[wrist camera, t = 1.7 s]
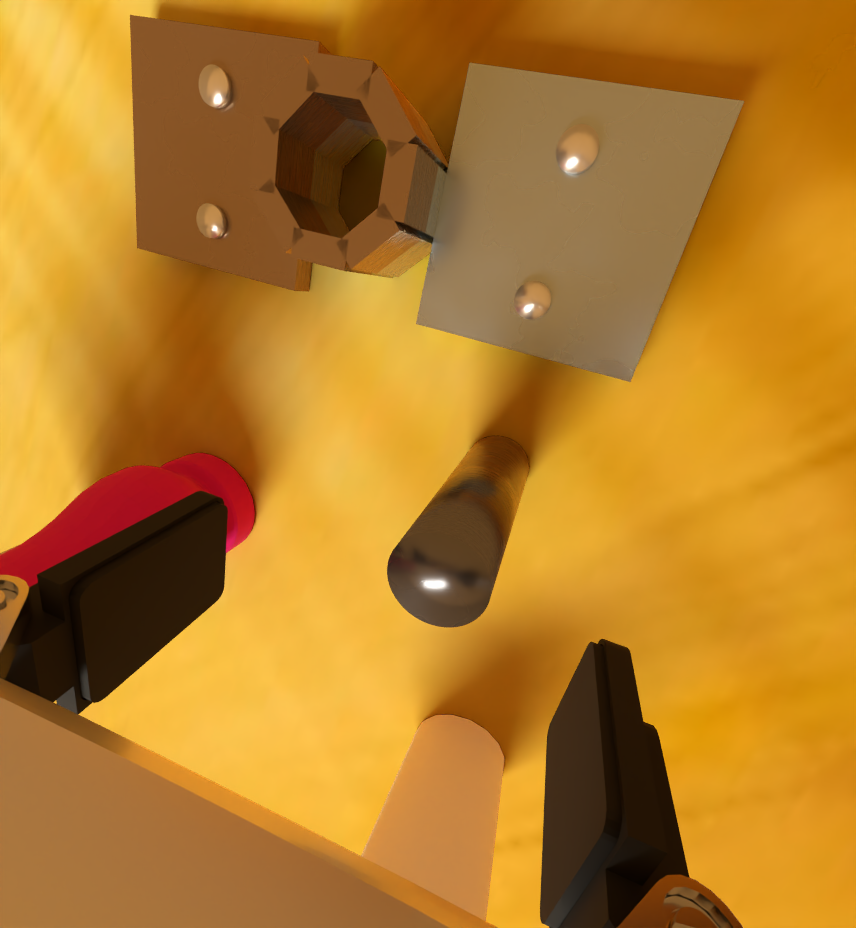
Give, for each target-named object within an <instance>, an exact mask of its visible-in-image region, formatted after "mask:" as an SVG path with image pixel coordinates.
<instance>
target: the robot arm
mask: <svg viewBox="0 0 856 928" xmlns="http://www.w3.org/2000/svg"><path fill="white" fill-rule="evenodd" d="M227 519H228V508H227V506H225V505H224V501H223V499H222V498H221V497H218V496H215V495H213V494H210V493H207V492H205V491H197V492H195V493H193V494H191V495H189V496H187V497H185V498H183V499H181V500H179V501H177V502H175V503H174V504H172V505H170V506H168V507H166V508H164V509H162V510H160V511H158V512H156V513H154V514H152V515H150V516H148V517H147V518H145V519H143V520H141V521H139V522H137V523H135V524H133V525H131V526H129V527H127V528H125V529H123V530H122V531H120V532H118V533H116V534H114V535H112V536H110V537H108V538H106V539H104V540H102V541H100V542H98V543H96V544H95V545H93V546H91V547H89V548H87V549H85V550H83V551H81V552H79V553H77V554H75V555H73V556H71V557H70V558H68V559H66V560H64V561H62V562H60V563H58V564H56V565H54V566H52V567H50V568H48V569H46V570H44V571H43V572H41V573H39V574H37V579H38V583H36V584H34V585H32V586H31V587H29V586H28V585H27V583H26V581H24V580H22V579H21V578H19V577H15V576H10V575H0V928H497V927H495V926H494V925H492V924H490V923H488V922H486V921H484V920H482V919H480V918H479V917H477V916H475V915H473V914H471V913H469V912H467V911H465V910H464V909H462V908H460V907H458V906H456V905H454V904H452V903H450V902H449V901H447V900H445V899H443V898H441V897H439V896H437V895H435V894H434V893H432V892H430V891H428V890H426V889H424V888H422V887H420V886H418V885H417V884H415V883H413V882H411V881H409V880H407V879H405V878H403V877H401V876H399V875H397V874H395V873H393V872H391V871H389V870H387V869H385V868H383V867H381V866H379V865H377V864H375V863H373V862H371V861H369V860H367V859H366V858H364V857H362V856H360V855H358V854H356V853H354V852H352V851H350V850H348V849H346V848H344V847H342V846H340V845H338V844H336V843H334V842H332V841H330V840H328V839H326V838H324V837H322V836H320V835H318V834H316V833H314V832H312V831H310V830H308V829H306V828H305V827H303V826H301V825H299V824H297V823H295V822H293V821H291V820H289V819H287V818H285V817H283V816H281V815H279V814H277V813H275V812H273V811H271V810H269V809H267V808H265V807H263V806H261V805H259V804H257V803H255V802H253V801H251V800H249V799H247V798H245V797H243V796H241V795H239V794H237V793H235V792H233V791H231V790H229V789H227V788H225V787H223V786H221V785H219V784H217V783H215V782H213V781H211V780H209V779H207V778H205V777H203V776H201V775H199V774H197V773H195V772H193V771H191V770H189V769H187V768H185V767H183V766H181V765H179V764H177V763H175V762H173V761H171V760H169V759H167V758H165V757H163V756H161V755H159V754H157V753H155V752H153V751H151V750H149V749H147V748H145V747H143V746H141V745H139V744H137V743H135V742H133V741H130V740H128V739H126V738H124V737H122V736H120V735H118V734H116V733H114V732H112V731H110V730H108V729H106V728H104V727H102V726H100V725H98V724H96V723H94V722H92V721H90V720H88V719H86V718H84V717H82V716H80V715H78V714H79V713H81V712H82V711H83V710H84V709H85V708H86V707H88V706H89V705H90V704H91V703H92V702H94V703H95V702H99V701H101V700H103V699H104V698H105V697H106V696H108V695H109V694H110V693H111V692H112V691H113V690H115V689H116V688H117V687H118V686H119V685H120V684H122V683H123V682H124V681H125V680H126V679H127V678H128V677H130V676H131V675H132V674H133V673H134V672H135V671H137V670H138V669H139V668H140V667H141V666H142V665H144V664H145V663H146V662H147V661H148V660H149V659H150V658H152V657H153V656H154V655H155V654H156V653H157V652H159V651H160V650H161V649H162V648H163V647H164V646H165V645H167V644H168V643H169V642H170V641H171V640H172V639H174V638H175V637H176V636H177V635H178V634H179V633H181V632H182V631H183V630H184V629H185V628H186V627H187V626H189V625H190V624H191V623H192V622H193V621H194V620H196V619H197V618H198V617H199V616H200V615H201V614H202V613H204V612H205V611H206V610H207V609H208V608H209V607H211V606H212V605H213V604H214V603H215V602H216V601H217V600H218V599H219V598H220V596H221V595H222V593H223V590H224V580H225V560H226V539H227ZM55 700H57V704H55V703H53V702H54V701H55ZM540 917H541V922H542V923H543V924H545V925H547V926H549V928H743V927H742V925H741V924H740V923H739V921H738V920H737V919H736V917H735V916H734V915H733V913H732V912H731V911H730V909H729V908H728V907H727V906H726V905H725V904H724V903H723V902H722V901H721V900H720V899H719V898H718V897H717V896H716V895H715V894H714V893H713V892H712V891H711V890H709V889H708V888H706V887H705V886H703V885H702V884H700V883H699V882H698V881H696V880H694V879H691V878H689V874H688V869H687V864H686V860H685V855H684V851H683V846H682V841H681V837H680V832H679V827H678V823H677V818H676V814H675V809H674V804H673V800H672V795H671V790H670V786H669V781H668V776H667V772H666V767H665V763H664V758H663V753H662V749H661V744H660V739H659V736H658V733H657V730H656V729H655V727H654V726H653V725H650V724H648V723H645V722H643V718H642V712H641V707H640V702H639V696H638V691H637V685H636V680H635V675H634V669H633V664H632V659H631V653H630V650H629V649H628V648H626V647H623V646H621V645H618V644H615V643H613V642H610V641H607V640H605V639H601V640H600V641H599V642H598V644H596V643H593V642H590V643H589V645H588V646H587V648H586V650H585V652H584V655H583V657H582V659H581V661H580V663H579V665H578V667H577V669H576V671H575V673H574V675H573V677H572V679H571V681H570V683H569V685H568V688H567V690H566V692H565V694H564V696H563V698H562V700H561V702H560V704H559V706H558V708H557V710H556V712H555V714H554V716H553V718H552V721H551V723H550V726H549V730H548V735H547V751H546V776H545V801H544V826H543V851H542V875H541V900H540Z"/></svg>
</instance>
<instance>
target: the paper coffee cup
mask: <svg viewBox="0 0 856 928" xmlns="http://www.w3.org/2000/svg"><path fill="white" fill-rule="evenodd" d="M504 759H505V758H504V756H503V753H502V751H501V748H500V746H499V743H498V742H497V741H496V740H495V739H494V738H493V737H492V736H491V735H490V733H489V732H488V731H487V730H486V729H484V728H482V727H481V726H479V725H477V724H476V723H474V722H473V721H471V720H469V719H465V718H462V717H458V716H455V715H435V716H433V717H430V718H428V719H426V720H424V721H423V722H422V723H421V725H420V726H419V728H418V729H417V731H416V733H415V735H414V738H413V740H412V742H411V744H410V747H409V749H408V751H407V753H406V756H405V758H404V760H403V763H402V765H401V767H400V769H399V772H398V774H397V776H396V778H395V781H394V783H393V785H392V787H391V790H390V792H389V794H388V796H387V799H386V801H385V803H384V806H383V808H382V810H381V812H380V815H379V817H378V819H377V821H376V824H375V826H374V828H373V830H372V833H371V835H370V837H369V839H368V842H367V844H366V846H365V848H364V851H363V853H362V855H361V856H362V857H364V858H366V859H367V860H369V861H371V862H373V863H375V864H377V865H379V866H381V867H383V868H385V869H387V870H389V871H391V872H393V873H395V874H397V875H399V876H401V877H403V878H405V879H407V880H409V881H411V882H413V883H415V884H417V885H418V886H420V887H422V888H424V889H426V890H428V891H430V892H432V893H434V894H435V895H437V896H439V897H441V898H443V899H445V900H447V901H449V902H450V903H452V904H454V905H456V906H458V907H460V908H462V909H464V910H465V911H467V912H469V913H471V914H473V915H475V916H477V917H479V918H480V919H482V920H484V921H486V913H487V904H488V896H489V887H490V879H491V870H492V861H493V853H494V844H495V836H496V827H497V819H498V810H499V801H500V793H501V784H502V776H503V768H504Z"/></svg>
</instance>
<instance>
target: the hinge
mask: <svg viewBox="0 0 856 928" xmlns="http://www.w3.org/2000/svg"><path fill="white" fill-rule="evenodd" d="M130 28H131V60H132V93H133V125H134V157H135V189H136V222H137V248H139V249H143V250H147V251H150V252H154V253H158V254H161V255H165V256H169V257H173V258H176V259H180V260H184V261H187V262H191V263H195V264H198V265H202V266H206V267H209V268H213V269H217V270H220V271H224V272H228V273H231V274H235V275H239V276H242V277H246V278H250V279H253V280H257V281H261V282H265V283H268V284H272V285H276V286H279V287H283V288H287V289H290V290H294V291H309V286H310V277H311V268H312V263H316V264H320V265H324V266H327V267H331V268H335V269H339V270H343V271H349V272H356V273H362V274H369V275H376V276H382V277H389V278H393V276H395V277H399V276H400V275H401V274H403V273H404V272H405V271H407V270H408V269H409V268H411V267H412V266H413V265H415V264H416V263H417V262H419V261H420V260H421V259H423V258H424V257H425V256H427V255H428V254H429V253H430V258H429V263H428V268H427V273H426V278H425V283H424V288H423V292H422V297H421V302H420V307H419V312H418V317H417V322H416V324H419V325H423V326H426V327H430V328H434V329H438V330H441V331H445V332H449V333H452V334H456V335H460V336H463V337H467V338H471V339H474V340H478V341H482V342H485V343H489V344H493V345H496V346H500V347H504V348H507V349H511V350H515V351H519V352H522V353H526V354H530V355H533V356H537V357H541V358H544V359H548V360H552V361H555V362H559V363H563V364H566V365H570V366H574V367H577V368H581V369H585V370H588V371H592V372H596V373H599V374H603V375H607V376H611V377H614V378H618V379H622V380H625V381H629V382H630V381H631V379H632V376H633V374H634V371H635V369H636V366H637V364H638V361H639V359H640V357H641V354H642V352H643V349H644V347H645V344H646V342H647V339H648V337H649V334H650V332H651V330H652V327H653V325H654V322H655V320H656V317H657V315H658V312H659V310H660V307H661V305H662V302H663V300H664V298H665V295H666V293H667V290H668V288H669V285H670V283H671V280H672V278H673V275H674V273H675V270H676V268H677V266H678V263H679V261H680V258H681V256H682V253H683V251H684V248H685V246H686V243H687V241H688V239H689V236H690V234H691V231H692V229H693V226H694V224H695V221H696V219H697V216H698V214H699V211H700V209H701V207H702V204H703V202H704V199H705V197H706V194H707V192H708V189H709V187H710V184H711V182H712V180H713V177H714V175H715V172H716V170H717V167H718V165H719V162H720V160H721V157H722V155H723V152H724V150H725V148H726V145H727V143H728V140H729V138H730V135H731V133H732V130H733V128H734V125H735V123H736V121H737V118H738V116H739V113H740V111H741V108H742V106H743V103H744V101H740V100H733V99H726V98H719V97H712V96H705V95H698V94H690V93H683V92H676V91H669V90H662V89H655V88H648V87H640V86H633V85H626V84H619V83H612V82H605V81H598V80H590V79H583V78H576V77H569V76H562V75H555V74H548V73H540V72H533V71H526V70H519V69H512V68H505V67H498V66H490V65H483V64H476V63H469V67H468V72H467V77H466V82H465V87H464V92H463V97H462V102H461V106H460V111H459V116H458V121H457V126H456V131H455V136H454V141H453V146H452V151H451V155H450V160H449V164H448V162H447V160H446V159H445V157H444V155H443V153H442V151H441V149H440V147H439V145H438V143H437V141H436V140H435V138H434V136H433V134H432V132H431V130H430V128H429V126H428V124H427V122H426V121H425V120H424V119H423V118H422V116H421V115H420V114H419V113H418V111H417V110H416V109H415V108H414V107H413V105H412V104H411V103H410V102H409V101H408V99H407V98H406V97H405V96H404V95H403V93H402V92H401V91H400V90H399V89H398V87H397V86H396V85H395V84H394V83H393V81H392V80H391V79H390V78H389V77H388V75H387V74H386V73H385V72H384V71H383V69H382V68H381V67H378V66H377V65H376V64H375V63H374V62H373V61H369V60H363V59H356V58H349V57H342V56H335V55H332V54H331V53H330V52H329V51H328V50H327V49H326V48H325V47H324V46H323V45H322V44H321V43H320V42H319V41H312V40H305V39H298V38H291V37H283V36H276V35H269V34H262V33H255V32H248V31H241V30H233V29H226V28H219V27H212V26H205V25H198V24H191V23H183V22H176V21H169V20H162V19H155V18H148V17H141V16H133V15H130ZM372 140H378V141H383V143H384V145H385V147H386V149H387V153H386V159H385V165H384V172H383V178H382V185H381V191H380V197H379V204H378V208H377V209H376V210H375V211H373V212H372V213H371V214H370V215H369V216H368V217H366V218H365V219H364V220H363V221H362V222H360V223H359V224H358V225H357V226H356V227H355V228H353V229H352V230H351V231H350V230H349V228H348V227H347V225H346V223H345V221H344V220H343V218H342V216H341V214H340V213H339V211H338V208H339V200H340V192H341V184H342V176H343V168H344V166H345V165H346V164H347V163H349V162H350V161H351V160H352V159H353V158H354V157H355V156H356V155H357V154H358V153H359V152H360V151H361V150H362V149H363V148H364V147H366V146H367V145H368V144H369V143H370V142H371V141H372Z"/></svg>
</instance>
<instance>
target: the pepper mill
mask: <svg viewBox="0 0 856 928" xmlns="http://www.w3.org/2000/svg"><path fill="white" fill-rule="evenodd" d="M197 491H205V492H207V493H210V494H213V495H215V496H218V497H221V498H222V499H223V501H224V505H225V506H227V508H228V519H227V539H226V553H227V552H228V551H230V550H231V549H233V548H234V547H236V546H237V545H239V544H240V543H241V542H243V541H244V540H245V539H246V538H247V537H248V535H249V534H250V532H251V530H252V527H253V523H254V517H255V510H254V504H253V498H252V496H251V494H250V491H249V489H248V487H247V485H246V483H245V481H244V480H243V479H242V477H241V476H240V475H239V474H238V472H237V471H236V470H235V469H234V468H232V467H231V466H230V465H229V464H228V463H227V462H225V461H223V460H221V459H219V458H218V457H216V456H213V455H209V454H205V453H194V454H189V455H186V456H183V457H181V458H178V459H175V460H173V461H170V462H168V463H166V464H164V465H162V466H161V467H160V468H159V467H153V466H133V467H128V468H125V469H122V470H120V471H118V472H116V473H113V474H111V475H109V476H107V477H104V478H102V479H100V480H99V481H98V482H96V483H95V484H93V485H92V486H90V487H89V488H88V489H86V490H85V491H83V492H82V493H81V494H80V495H78V496H77V497H76V498H75V499H74V500H73V501H72V502H71V503H70V504H69V505H68V506H67V507H66V508H65V509H64V510H63V511H62V512H61V513H60V514H59V515H58V516H57V517H56V518H55V519H54V520H53V521H52V522H50V523H49V524H48V525H47V526H46V527H44V528H43V529H42V530H41V531H39V532H38V533H37V534H35V535H34V536H32V537H31V538H29V539H28V540H27V541H25V542H24V543H22V544H21V545H19V546H17V547H15V548H13V549H11V550H9V551H7V552H5V553H3V554H1V555H0V575H10V576H15V577H19V578H21V579H22V580H24V581H26V583H27V585H28V586H29V587H31V586H32V585H34V584H36V583H38V579H37V574H39V573H41V572H43V571H44V570H46V569H48V568H50V567H52V566H54V565H56V564H58V563H60V562H62V561H64V560H66V559H68V558H70V557H71V556H73V555H75V554H77V553H79V552H81V551H83V550H85V549H87V548H89V547H91V546H93V545H95V544H96V543H98V542H100V541H102V540H104V539H106V538H108V537H110V536H112V535H114V534H116V533H118V532H120V531H122V530H123V529H125V528H127V527H129V526H131V525H133V524H135V523H137V522H139V521H141V520H143V519H145V518H147V517H148V516H150V515H152V514H154V513H156V512H158V511H160V510H162V509H164V508H166V507H168V506H170V505H172V504H174V503H175V502H177V501H179V500H181V499H183V498H185V497H187V496H189V495H191V494H193V493H195V492H197Z"/></svg>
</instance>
